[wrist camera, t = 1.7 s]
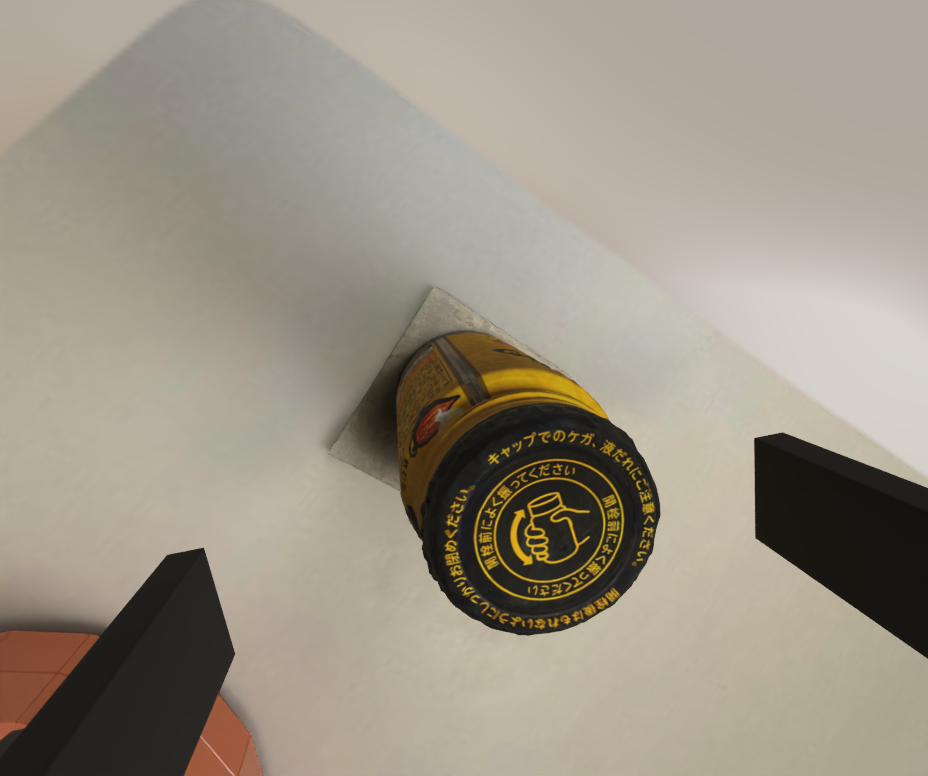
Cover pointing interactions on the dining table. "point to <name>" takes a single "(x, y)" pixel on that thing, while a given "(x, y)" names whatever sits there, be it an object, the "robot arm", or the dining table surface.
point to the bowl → (53, 658)
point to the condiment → (504, 473)
